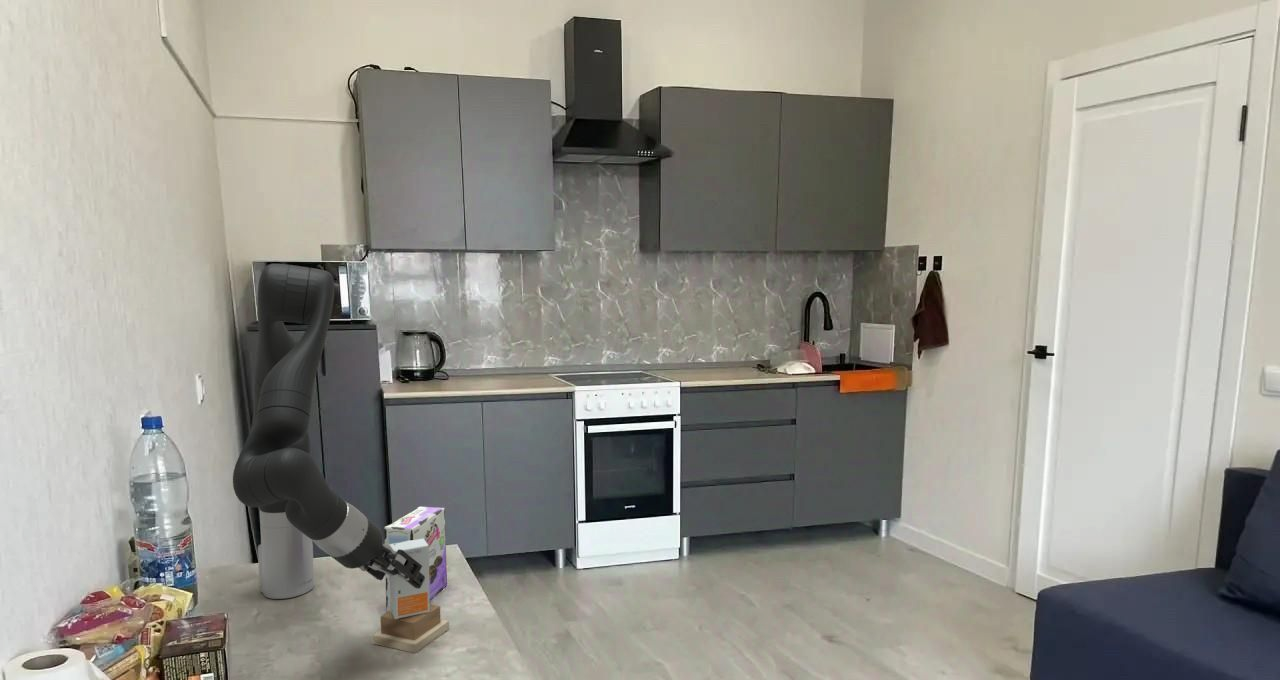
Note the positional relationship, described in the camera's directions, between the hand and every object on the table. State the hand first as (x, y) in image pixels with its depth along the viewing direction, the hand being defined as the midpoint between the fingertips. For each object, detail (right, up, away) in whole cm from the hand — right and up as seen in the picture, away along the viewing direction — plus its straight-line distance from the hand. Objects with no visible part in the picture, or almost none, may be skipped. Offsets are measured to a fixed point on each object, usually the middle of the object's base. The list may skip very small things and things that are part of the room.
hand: (401, 578), depth 123 cm
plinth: (+1, -11, +3) cm, 11 cm away
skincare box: (+1, -7, +2) cm, 7 cm away
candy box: (-3, -10, +18) cm, 21 cm away
